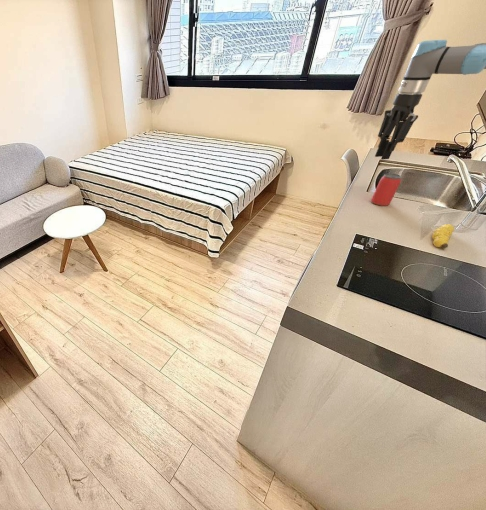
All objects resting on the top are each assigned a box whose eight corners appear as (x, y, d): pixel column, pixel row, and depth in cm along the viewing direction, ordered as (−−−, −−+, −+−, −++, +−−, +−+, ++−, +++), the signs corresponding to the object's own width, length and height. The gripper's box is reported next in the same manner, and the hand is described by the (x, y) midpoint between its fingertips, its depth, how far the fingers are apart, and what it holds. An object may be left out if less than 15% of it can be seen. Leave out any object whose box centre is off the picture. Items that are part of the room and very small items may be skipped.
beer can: (373, 206, 116) (386, 178, 109) (367, 199, 121) (379, 172, 114) (392, 206, 114) (406, 178, 107) (385, 200, 119) (398, 173, 112)
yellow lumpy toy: (435, 226, 100) (444, 219, 97) (450, 234, 98) (459, 226, 95) (425, 243, 92) (434, 236, 90) (441, 252, 90) (451, 244, 87)
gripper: (383, 91, 108) (360, 152, 122) (418, 96, 95) (386, 164, 109) (402, 90, 108) (376, 151, 122) (439, 94, 95) (405, 163, 109)
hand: (381, 157), depth 115 cm, fingers open, 3 cm apart
